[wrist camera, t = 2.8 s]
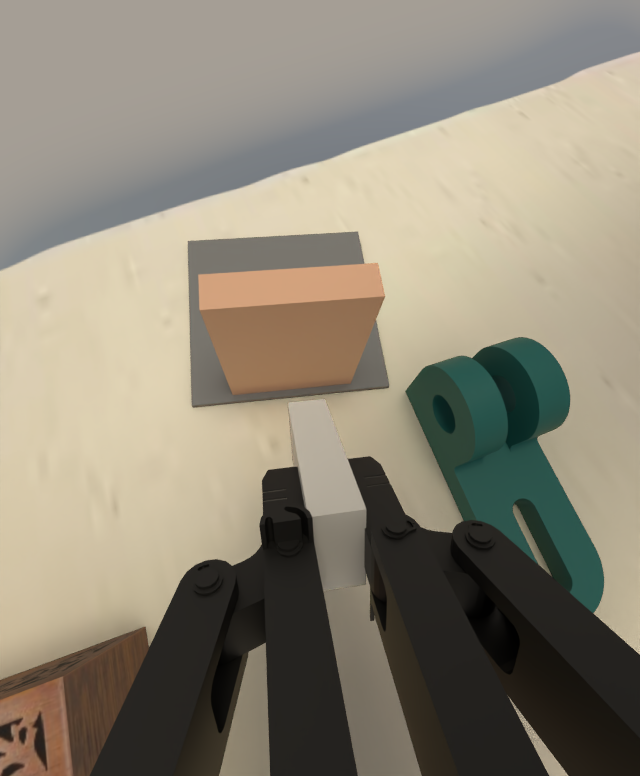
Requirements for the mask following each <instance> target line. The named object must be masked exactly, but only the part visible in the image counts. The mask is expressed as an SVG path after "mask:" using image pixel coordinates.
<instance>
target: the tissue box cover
mask: <svg viewBox="0 0 640 776" xmlns="http://www.w3.org/2000/svg"><path fill="white" fill-rule="evenodd" d="M148 650H149V646H148V640H147V634H146V629H145V627H143V628H140V629H138V630H135V631H132V632H130V633H127V634H124V635H121V636H119V637H116V638H113V639H111V640H108V641H105V642H102V643H100V644H97V645H94V646H92V647H89V648H86V649H84V650H81V651H78V652H75V653H73V654H70V655H67V656H65V657H62V658H59V659H56V660H54V661H51V662H48V663H46V664H43V665H40V666H38V667H35V668H32V669H29V670H27V671H24V672H21V673H19V674H16V675H13V676H10V677H8V678H5V679H2V680H0V776H90V774H91V772H92V769H93V767H94V765H95V763H96V761H97V759H98V757H99V754H100V752H101V750H102V748H103V746H104V744H105V742H106V739H107V737H108V735H109V733H110V731H111V729H112V727H113V724H114V722H115V720H116V718H117V716H118V714H119V712H120V710H121V707H122V705H123V703H124V701H125V699H126V697H127V695H128V692H129V690H130V688H131V686H132V684H133V682H134V680H135V677H136V675H137V673H138V671H139V669H140V667H141V665H142V662H143V660H144V658H145V656H146V654H147V652H148Z"/></svg>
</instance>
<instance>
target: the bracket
mask: <svg viewBox="0 0 640 776" xmlns="http://www.w3.org/2000/svg"><path fill="white" fill-rule="evenodd" d="M406 394H407V396H408V398H409V400H410V402H411V405H412V407H413V409H414V411H415V414H416V416H417V418H418V420H419V422H420V425H421V427H422V429H423V431H424V433H425V436H426V438H427V440H428V442H429V444H430V447H431V449H432V451H433V453H434V456H435V458H436V460H437V462H438V464H439V467H440V469H441V471H442V473H443V475H444V478H445V480H446V482H447V484H448V487H449V489H450V491H451V493H452V495H453V498H454V500H455V502H456V504H457V506H458V509H459V511H460V513H461V515H462V517H463V520H464V521H468V520H476V521H482V522H485V523H488V524H490V525H492V526H494V527H495V528H497V529H498V530H500V531H501V532H502V533H503V534H504V535H505V536H506V537H508V538H509V539H510V540H511V541H512V542H513V543H514V544H515V545H517V546H518V547H519V548H520V549H521V550H522V551H523V552H524V553H526V554H527V555H528V556H529V557H530V558H531V559H532V560H533V561H535V562H536V563H537V561H536V559H535V557H534V555H533V553H532V551H531V549H530V547H529V545H528V543H527V541H526V539H525V537H524V535H523V533H522V531H521V529H520V527H519V525H518V522H517V520H516V518H515V516H514V514H513V504H514V503H515V504H516V505H517V506H518V508H519V510H520V512H521V514H522V516H523V518H524V520H525V522H526V524H527V526H528V528H529V530H530V532H531V534H532V536H533V538H534V540H535V542H536V544H537V546H538V548H539V550H540V552H541V554H542V556H543V558H544V560H545V562H546V564H547V566H548V568H549V570H550V572H551V574H552V577H553V578H554V579H555V580H556V581H557V582H558V583H559V584H560V585H562V586H563V587H564V588H565V589H566V590H567V591H568V592H569V593H571V594H572V595H573V596H574V597H575V598H576V599H577V600H578V601H580V602H581V603H582V604H583V605H584V606H585V607H586V608H587V609H589V610H590V611H591V612H592V613H594V612H595V610H596V609H597V607H598V605H599V603H600V601H601V598H602V594H603V588H604V574H603V568H602V564H601V560H600V558H599V555H598V553H597V551H596V549H595V547H594V545H593V543H592V541H591V539H590V538H589V536H588V534H587V532H586V530H585V528H584V526H583V525H582V523H581V521H580V519H579V517H578V515H577V514H576V512H575V510H574V508H573V506H572V504H571V502H570V501H569V499H568V497H567V495H566V493H565V491H564V490H563V488H562V486H561V484H560V482H559V480H558V478H557V477H556V475H555V473H554V471H553V469H552V467H551V466H550V464H549V462H548V460H547V458H546V456H545V454H544V453H543V451H542V449H541V447H540V445H539V443H538V441H537V437H538V436H540V435H542V434H545V433H547V432H549V431H552V430H554V429H556V428H558V427H559V426H561V425H562V423H563V422H564V421H565V419H566V417H567V415H568V412H569V407H570V392H569V387H568V383H567V379H566V377H565V374H564V372H563V370H562V368H561V366H560V364H559V363H558V361H557V360H556V359H555V357H554V356H553V355H552V354H551V353H550V352H549V351H548V350H547V349H546V348H545V347H544V346H543V345H541V344H540V343H538V342H536V341H534V340H532V339H529V338H523V337H518V338H514V339H511V340H507V341H504V342H501V343H498V344H495V345H492V346H489V347H486V348H483V349H482V350H480V351H479V352H478V353H477V354H476V355H475V356H474V357H473V358H469V357H467V356H457V357H454V358H451V359H448V360H445V361H442V362H438V363H435V364H432V365H429V366H426V367H425V368H423V369H422V371H421V372H420V373H419V375H418V376H417V377H416V378H415V380H414V381H413V382H412V383H411V385H410V386H409V387H408V389H407V390H406ZM537 564H538V563H537Z"/></svg>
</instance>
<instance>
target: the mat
mask: <svg viewBox="0 0 640 776" xmlns="http://www.w3.org/2000/svg"><path fill="white" fill-rule="evenodd" d="M354 264H364V259H363V254H362V249H361V244H360V239H359V235H358V232H344V233H326V234H308V235H290V236H272V237H254V238H236V239H218V240H200V241H188V268H189V309H190V350H191V391H192V407H202V406H211V405H221V404H231V403H241V402H251V401H261V400H271V399H281V398H291V397H301V396H310V395H320V394H330V393H340V392H350V391H360V390H370V389H380V388H388V387H389V382H388V377H387V372H386V367H385V362H384V357H383V352H382V347H381V342H380V337H379V333H378V328H377V323H376V321H375V323H374V326H373V328H372V331H371V333H370V336H369V338H368V341H367V343H366V346H365V348H364V351H363V353H362V356H361V358H360V361H359V364H358V366H357V369H356V371H355V374H354V376H353V379H352V381H351V384H342V385H331V386H321V387H311V388H301V389H291V390H281V391H271V392H261V393H250V394H240V395H232V392H231V389H230V387H229V384H228V382H227V379H226V377H225V374H224V372H223V369H222V366H221V364H220V361H219V359H218V356H217V354H216V351H215V349H214V346H213V343H212V341H211V338H210V336H209V333H208V331H207V328H206V325H205V323H204V320H203V318H202V315H201V313H200V310H199V280H198V275H200V274H215V273H231V272H246V271H262V270H277V269H293V268H308V267H323V266H339V265H354Z"/></svg>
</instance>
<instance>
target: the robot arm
mask: <svg viewBox="0 0 640 776" xmlns="http://www.w3.org/2000/svg"><path fill="white" fill-rule="evenodd" d="M288 411H289V423H290V434H291V446H292V458H293V465H294V467H289V468H281V469H273V470H268V471H267V473H266V474H265V476H264V478H263V480H262V491H263V516H262V517H261V521H260V532H261V540H262V545H261V547H260V548H259V550H258V551H257V552H256V553H255V554H254V555H253V556H251V557H250V558H248V559H246V560H245V561H243V562H241V563H238V564H236V565H234V566H231V565H230V564H229V563H227V562H226V561H222V560H217V559H215V560H207V561H204V562H202V563H199V564H197V565H195V566H194V567H192V568H191V569H190V570H189V571H187V572H186V574H185V575H184V577H183V578H182V580H181V581H180V583H179V585H178V588H177V590H176V592H175V594H174V596H173V598H172V600H171V603H170V605H169V607H168V609H167V611H166V613H165V615H164V618H163V620H162V622H161V624H160V626H159V628H158V630H157V633H156V635H155V637H154V639H153V641H152V643H151V645H150V647H149V650H148V652H147V654H146V656H145V658H144V660H143V662H142V665H141V667H140V669H139V671H138V673H137V675H136V677H135V680H134V682H133V684H132V686H131V688H130V690H129V692H128V695H127V697H126V699H125V701H124V703H123V705H122V707H121V710H120V712H119V714H118V716H117V718H116V720H115V722H114V724H113V727H112V729H111V731H110V733H109V735H108V737H107V739H106V742H105V744H104V746H103V748H102V750H101V752H100V754H99V757H98V759H97V761H96V763H95V765H94V767H93V769H92V772H91V774H90V776H219V773H220V769H221V765H222V761H223V756H224V752H225V748H226V744H227V740H228V736H229V732H230V728H231V723H232V719H233V715H234V711H235V707H236V703H237V699H238V695H239V691H240V686H241V682H242V678H243V674H244V670H245V666H246V662H247V658H248V652H249V651H251V650H252V649H254V648H256V647H258V646H260V645H262V644H264V643H266V658H267V688H268V718H269V748H270V776H358V775H357V769H356V764H355V759H354V753H353V748H352V743H351V737H350V732H349V727H348V721H347V716H346V711H345V705H344V700H343V694H342V689H341V684H340V678H339V673H338V668H337V662H336V657H335V652H334V646H333V641H332V635H331V630H330V625H329V619H328V614H327V609H326V603H325V598H324V593H323V591H328V590H334V589H340V588H347V587H353V586H359V585H365V584H366V574H367V577H368V581H369V584H370V621H373V620H374V615H375V618H376V622H377V625H378V628H379V632H380V635H381V639H382V642H383V645H384V649H385V652H386V656H387V659H388V662H389V666H390V669H391V673H392V676H393V679H394V683H395V686H396V690H397V693H398V696H399V700H400V703H401V706H402V710H403V713H404V717H405V720H406V723H407V727H408V730H409V734H410V737H411V740H412V744H413V747H414V751H415V754H416V757H417V761H418V764H419V768H420V771H421V774H422V776H549V775H548V773H547V771H546V769H545V767H544V765H543V763H542V761H541V759H540V757H539V755H538V753H537V752H536V750H535V748H534V746H533V744H532V742H531V740H530V738H529V736H528V734H527V732H526V730H525V728H524V726H523V725H522V723H521V721H520V719H519V717H518V715H517V713H516V711H515V709H514V707H513V705H512V703H511V701H510V699H511V700H512V702H513V703H514V704H515V706H516V707H517V708H518V709H519V711H520V712H521V713H522V715H523V716H524V717H525V719H526V720H527V721H528V723H529V724H530V725H531V727H532V728H533V729H534V731H535V732H536V733H537V735H538V736H539V737H540V738H541V740H542V741H543V742H544V744H545V745H546V746H547V748H548V749H549V750H550V752H551V753H552V754H553V756H554V757H555V758H556V760H557V761H558V762H559V763H560V765H561V766H562V767H563V769H564V770H565V771H566V773H567V774H568V775H569V776H640V655H639V654H638V653H637V652H636V651H635V650H634V649H633V648H631V647H630V646H629V645H628V644H627V643H626V642H625V641H624V640H622V639H621V638H620V637H619V636H618V635H617V634H616V633H614V632H613V631H612V630H611V629H610V628H609V627H608V626H607V625H605V624H604V623H603V622H602V621H601V620H600V619H599V618H598V617H596V616H595V615H594V614H593V613H592V612H591V611H590V610H589V609H587V608H586V607H585V606H584V605H583V604H582V603H581V602H580V601H578V600H577V599H576V598H575V597H574V596H573V595H572V594H571V593H569V592H568V591H567V590H566V589H565V588H564V587H563V586H562V585H560V584H559V583H558V582H557V581H556V580H555V579H554V578H553V577H551V576H550V575H549V574H548V573H547V572H546V571H545V570H544V569H542V568H541V567H540V566H539V565H538V564H537V563H536V562H535V561H533V560H532V559H531V558H530V557H529V556H528V555H527V554H526V553H524V552H523V551H522V550H521V549H520V548H519V547H518V546H517V545H515V544H514V543H513V542H512V541H511V540H510V539H509V538H508V537H506V536H505V535H504V534H503V533H502V532H501V531H500V530H498V529H497V528H495V527H494V526H492V525H490V524H488V523H485V522H482V521H476V520H468V521H463V522H461V523H459V524H457V525H456V526H455V528H454V530H453V532H452V533H445V532H436V531H431V530H426V529H424V528H421V527H420V526H419V525H418V523H417V522H416V521H415V520H414V519H412V518H411V517H409V516H407V515H406V514H405V513H404V511H403V509H402V507H401V505H400V503H399V501H398V499H397V497H396V495H395V492H394V490H393V488H392V486H391V484H390V483H389V480H388V478H387V476H386V475H385V472H384V470H383V468H382V466H381V464H380V463H378V462H377V461H376V460H374V459H373V458H372V457H371V456H369V457H361V458H353V459H347V456H346V454H345V451H344V448H343V446H342V443H341V440H340V438H339V435H338V432H337V430H336V427H335V424H334V422H333V419H332V416H331V414H330V411H329V408H328V406H327V403H326V400H325V399H316V400H307V401H297V402H288ZM507 695H508V696H509V697H508V696H507ZM509 698H510V699H509Z"/></svg>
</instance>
